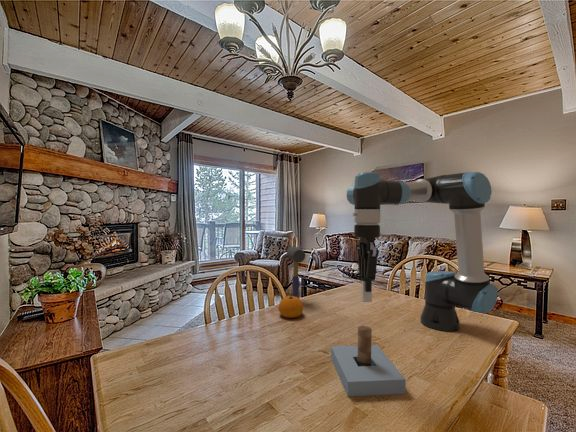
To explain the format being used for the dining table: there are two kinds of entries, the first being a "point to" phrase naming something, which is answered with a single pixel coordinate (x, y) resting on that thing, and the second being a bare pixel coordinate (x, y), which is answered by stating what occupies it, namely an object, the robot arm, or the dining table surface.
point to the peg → (364, 346)
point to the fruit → (290, 307)
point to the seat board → (367, 372)
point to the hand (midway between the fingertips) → (366, 301)
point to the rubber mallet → (295, 267)
